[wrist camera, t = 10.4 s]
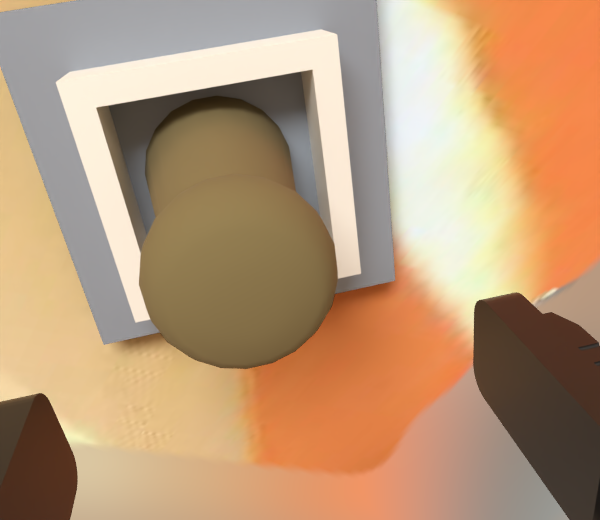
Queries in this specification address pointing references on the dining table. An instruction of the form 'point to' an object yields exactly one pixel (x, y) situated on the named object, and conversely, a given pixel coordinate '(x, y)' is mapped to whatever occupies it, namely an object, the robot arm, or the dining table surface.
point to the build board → (180, 90)
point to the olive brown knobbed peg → (231, 238)
